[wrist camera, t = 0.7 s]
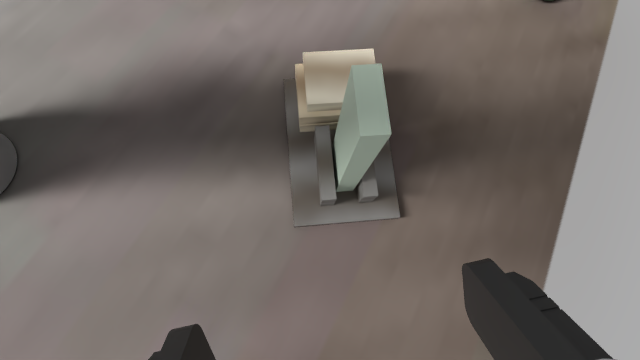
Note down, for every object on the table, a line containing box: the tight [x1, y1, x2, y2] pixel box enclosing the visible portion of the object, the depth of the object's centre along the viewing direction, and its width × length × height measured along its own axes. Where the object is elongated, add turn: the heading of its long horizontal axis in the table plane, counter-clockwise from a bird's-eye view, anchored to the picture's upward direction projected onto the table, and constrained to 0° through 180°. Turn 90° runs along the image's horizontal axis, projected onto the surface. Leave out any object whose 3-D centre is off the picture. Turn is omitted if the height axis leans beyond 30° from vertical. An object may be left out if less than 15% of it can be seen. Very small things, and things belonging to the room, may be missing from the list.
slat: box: [332, 64, 391, 192], centre depth 31 cm, size 5×2×18 cm, turn 5°
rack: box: [283, 49, 400, 227], centre depth 38 cm, size 18×12×7 cm, turn 5°
